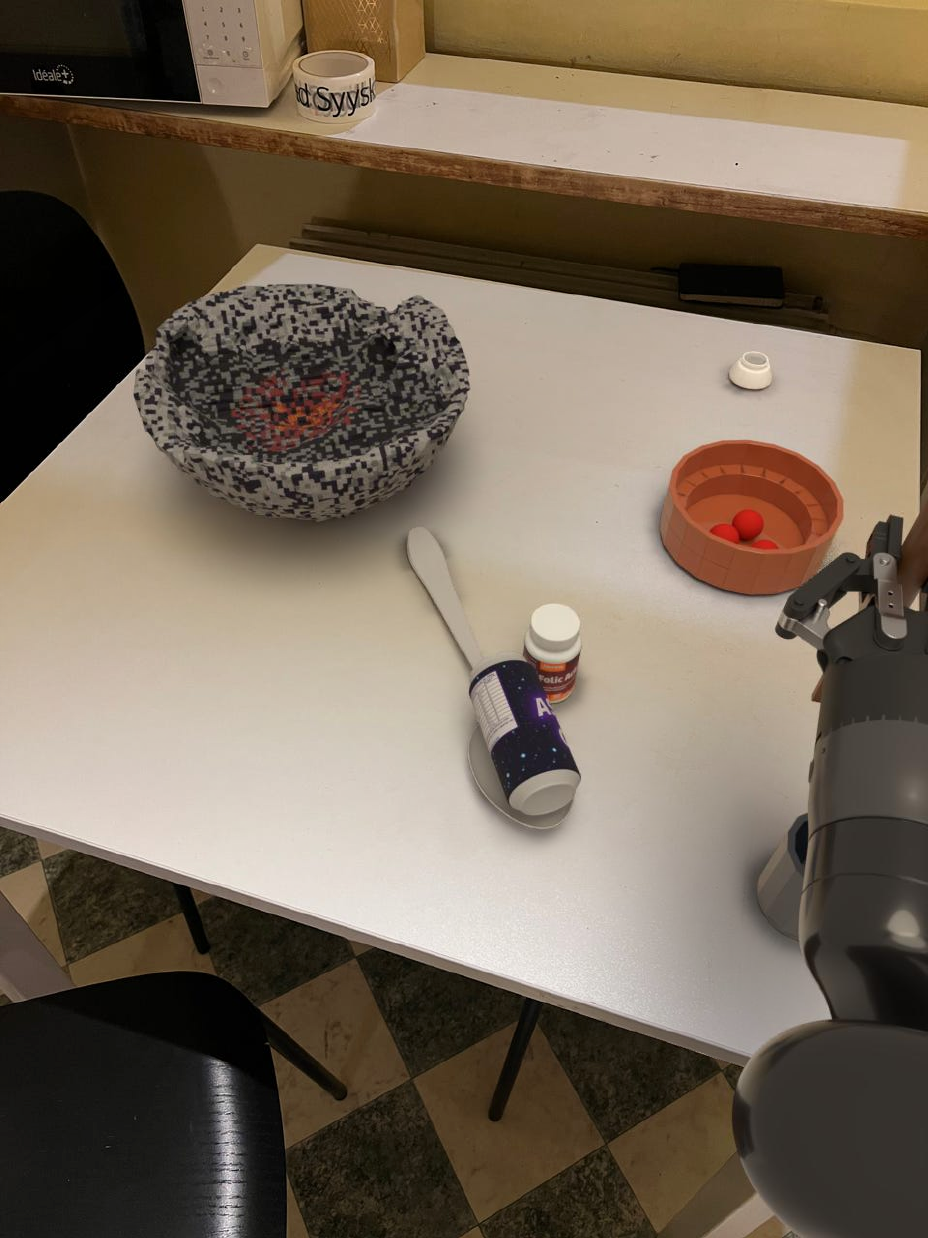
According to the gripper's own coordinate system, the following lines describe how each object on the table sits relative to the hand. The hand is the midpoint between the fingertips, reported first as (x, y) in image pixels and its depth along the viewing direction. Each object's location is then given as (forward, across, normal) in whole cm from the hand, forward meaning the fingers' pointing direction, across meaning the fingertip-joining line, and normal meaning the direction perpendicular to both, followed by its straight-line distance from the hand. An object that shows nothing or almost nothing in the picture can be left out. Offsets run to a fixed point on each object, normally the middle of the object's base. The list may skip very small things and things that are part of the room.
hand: (913, 532), depth 51 cm
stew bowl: (+25, +8, +26) cm, 37 cm away
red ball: (+25, +7, +24) cm, 35 cm away
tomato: (+22, +9, +24) cm, 34 cm away
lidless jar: (+53, +11, +26) cm, 60 cm away
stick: (-3, 0, +14) cm, 14 cm away
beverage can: (-13, +17, +20) cm, 29 cm away
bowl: (+18, +51, +26) cm, 60 cm away
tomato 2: (+21, +5, +24) cm, 32 cm away
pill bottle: (+1, +21, +26) cm, 33 cm away
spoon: (0, +27, +26) cm, 38 cm away
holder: (-12, -2, +26) cm, 28 cm away
